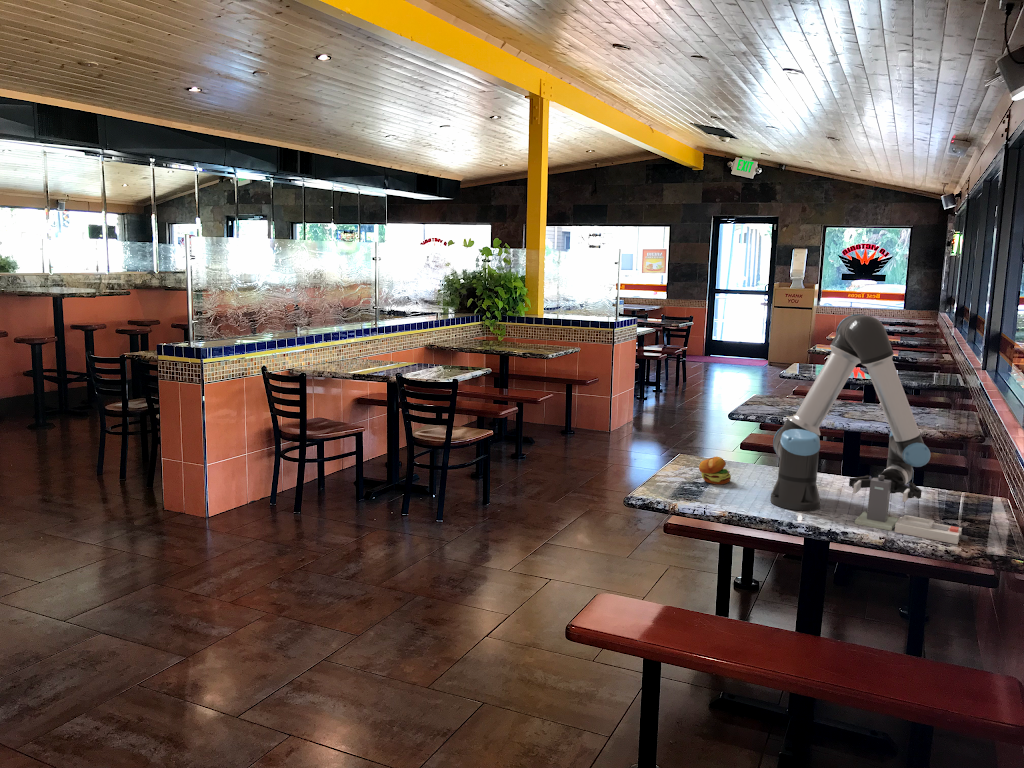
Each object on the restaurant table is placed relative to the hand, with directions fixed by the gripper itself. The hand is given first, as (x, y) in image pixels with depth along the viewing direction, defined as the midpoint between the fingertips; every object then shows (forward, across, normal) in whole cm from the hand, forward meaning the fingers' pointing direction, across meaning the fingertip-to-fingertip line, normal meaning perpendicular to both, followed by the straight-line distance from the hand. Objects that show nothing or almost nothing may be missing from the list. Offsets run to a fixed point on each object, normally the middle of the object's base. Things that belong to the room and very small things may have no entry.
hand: (879, 493), depth 234 cm
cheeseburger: (-14, +56, -10) cm, 58 cm away
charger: (-2, 0, -9) cm, 9 cm away
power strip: (0, -14, -10) cm, 17 cm away
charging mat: (-2, 0, -10) cm, 10 cm away
